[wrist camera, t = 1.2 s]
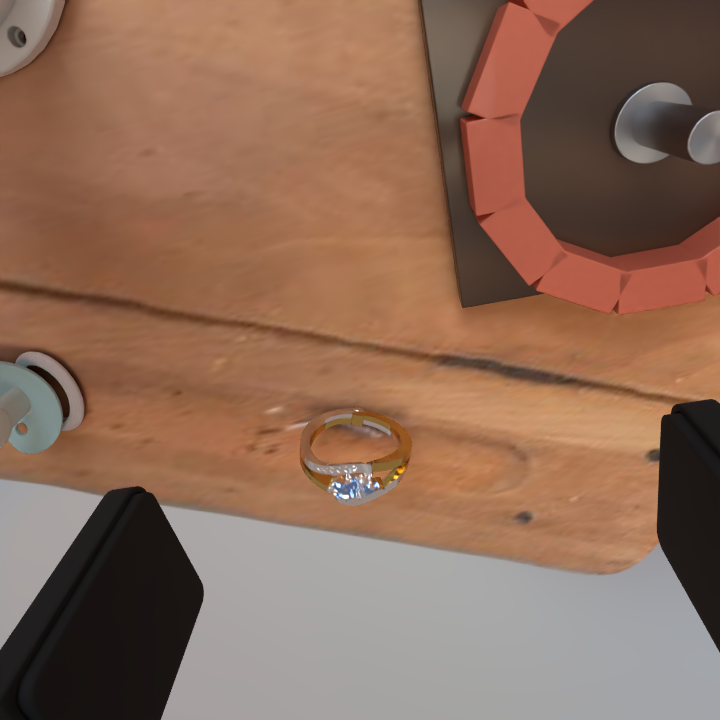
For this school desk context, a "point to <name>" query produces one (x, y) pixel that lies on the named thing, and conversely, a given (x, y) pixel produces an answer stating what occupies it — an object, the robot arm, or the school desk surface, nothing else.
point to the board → (578, 131)
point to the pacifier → (35, 403)
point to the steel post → (665, 126)
